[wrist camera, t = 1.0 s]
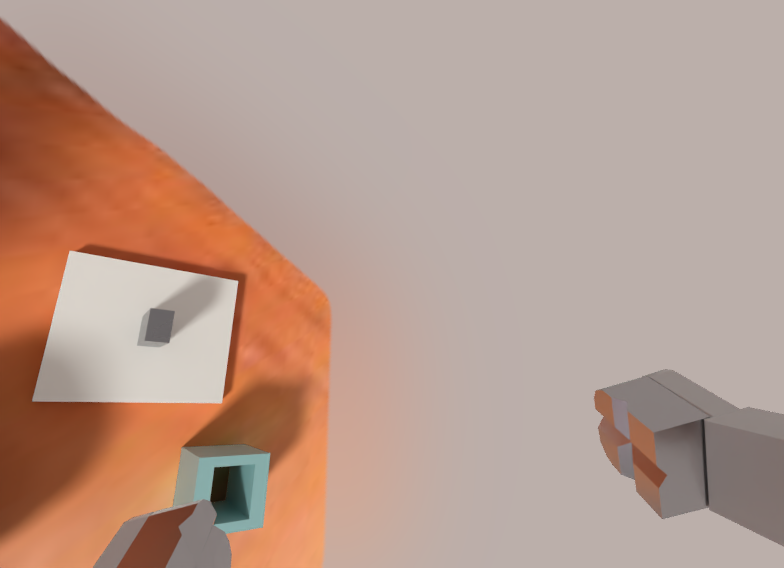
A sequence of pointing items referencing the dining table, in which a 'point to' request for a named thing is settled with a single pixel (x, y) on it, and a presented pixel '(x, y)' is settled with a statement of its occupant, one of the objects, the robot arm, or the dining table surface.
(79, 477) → the dining table surface
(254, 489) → the teal square hollow box
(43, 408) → the dining table surface
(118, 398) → the board
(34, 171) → the dining table surface
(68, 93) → the dining table surface
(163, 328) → the grey rectangular block
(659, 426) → the robot arm
